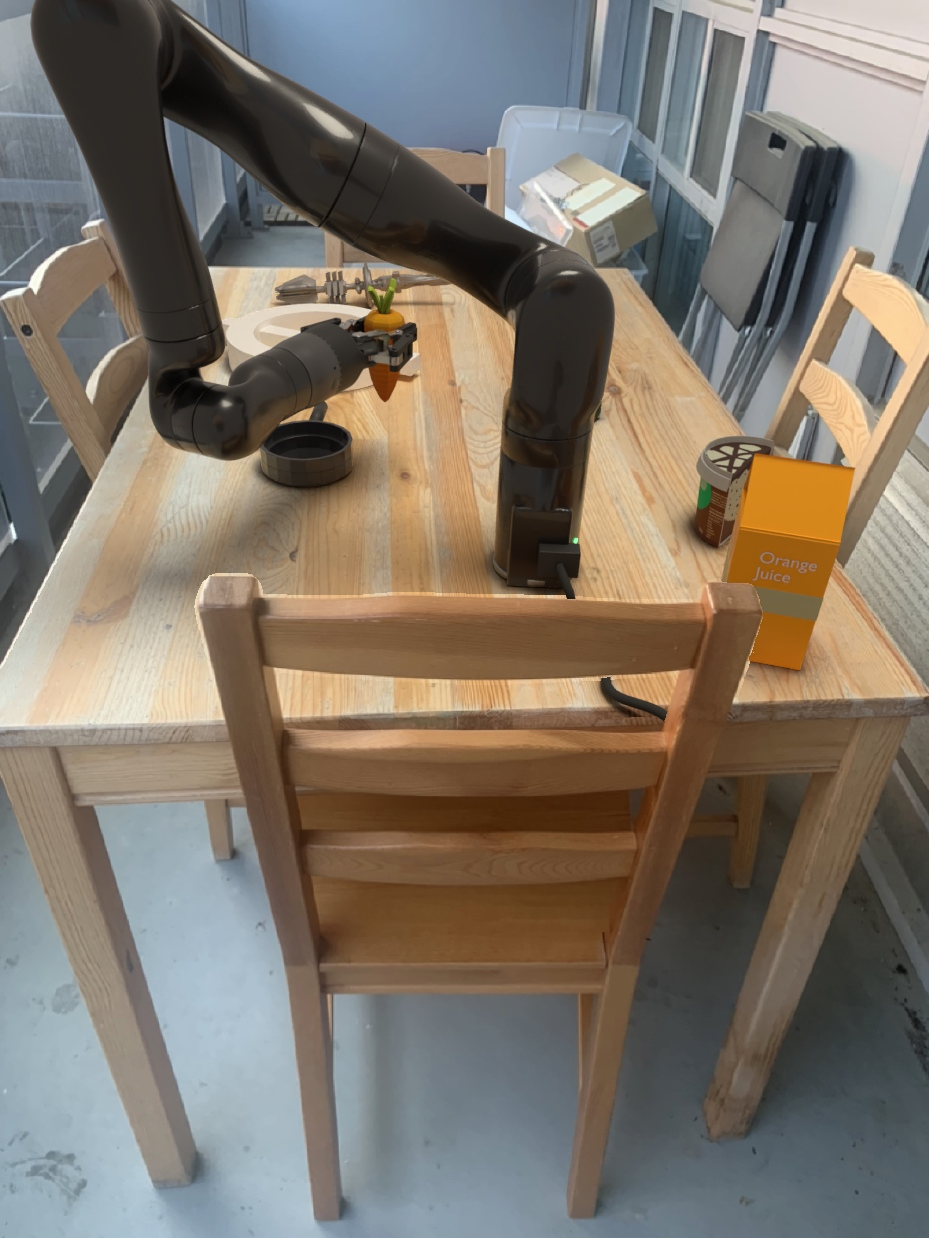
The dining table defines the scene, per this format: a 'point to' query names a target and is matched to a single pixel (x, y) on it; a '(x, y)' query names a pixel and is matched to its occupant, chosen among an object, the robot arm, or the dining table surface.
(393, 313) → the carrot
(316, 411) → the pan handle
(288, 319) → the white circle with bar
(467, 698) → the dining table surface
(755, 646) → the orange juice
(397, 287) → the spaceship
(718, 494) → the food container
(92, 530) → the dining table surface
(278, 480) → the pan
